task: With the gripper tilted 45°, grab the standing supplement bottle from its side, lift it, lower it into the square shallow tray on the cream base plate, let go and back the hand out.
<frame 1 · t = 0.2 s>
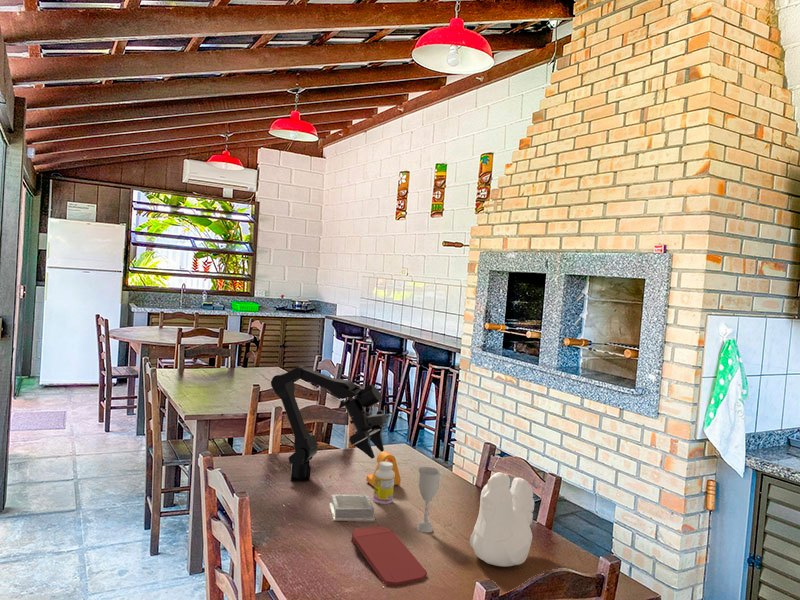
hand: (378, 454, 202), 14 cm above the table, tool tilted 35°, fingers open, 9 cm apart
supplement bottle: (382, 501, 197), on the table
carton: (384, 562, 156), on the table
chalice: (424, 529, 178), on the table
square shallow tray: (351, 512, 185), on the table
bracket: (382, 484, 213), on the table
white bunny figurine: (507, 558, 163), on the table
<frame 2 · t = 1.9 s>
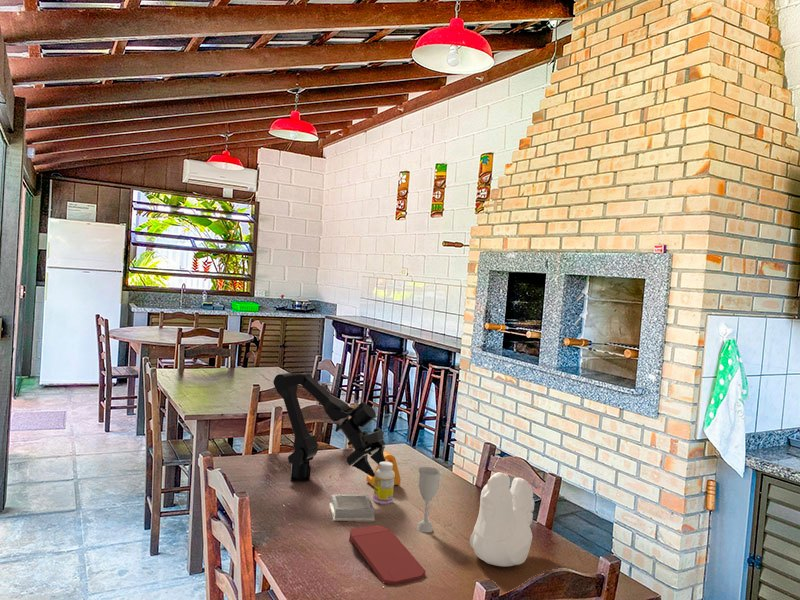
hand: (380, 472, 198), 9 cm above the table, tool tilted 45°, fingers open, 9 cm apart
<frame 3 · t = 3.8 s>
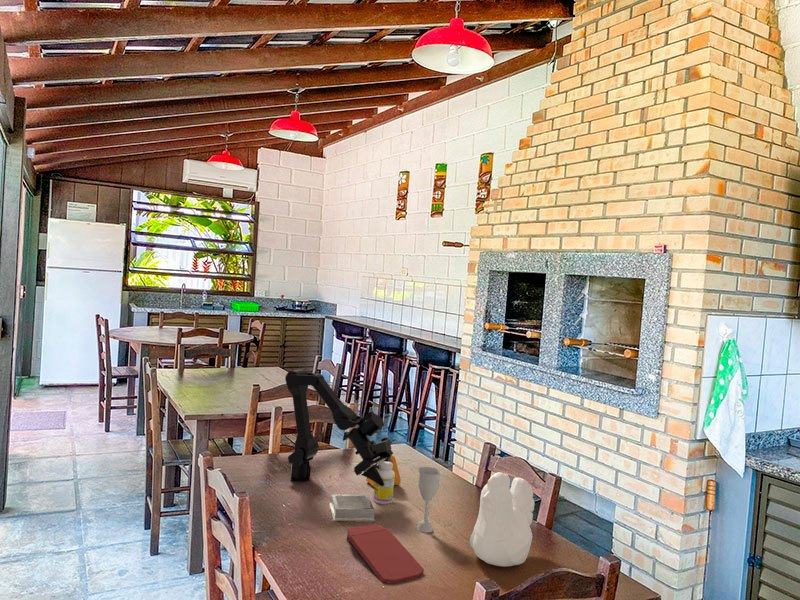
hand: (388, 482, 196), 7 cm above the table, tool tilted 45°, fingers closed on supplement bottle, 7 cm apart
supplement bottle: (382, 501, 197), on the table, touching gripper
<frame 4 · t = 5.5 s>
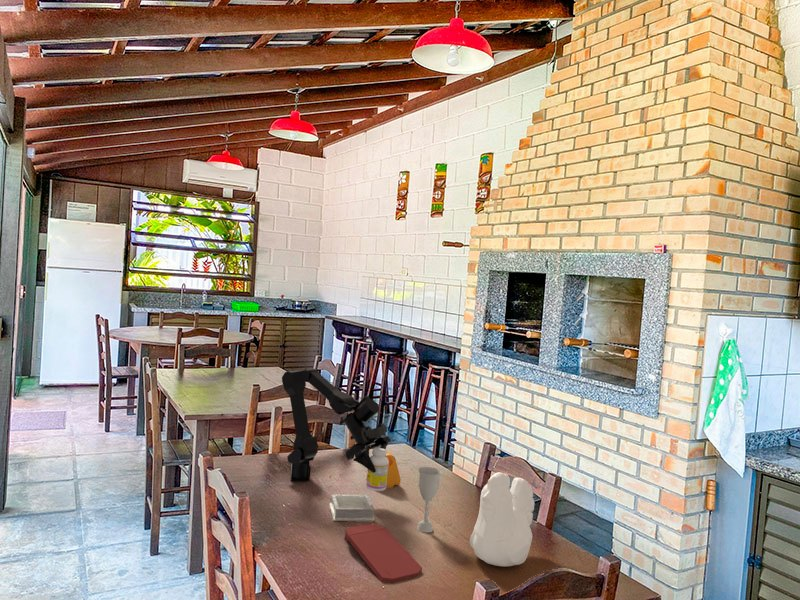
hand: (381, 469, 192), 12 cm above the table, tool tilted 45°, fingers closed on supplement bottle, 7 cm apart
supplement bottle: (375, 488, 193), point 5 cm above the table, touching gripper
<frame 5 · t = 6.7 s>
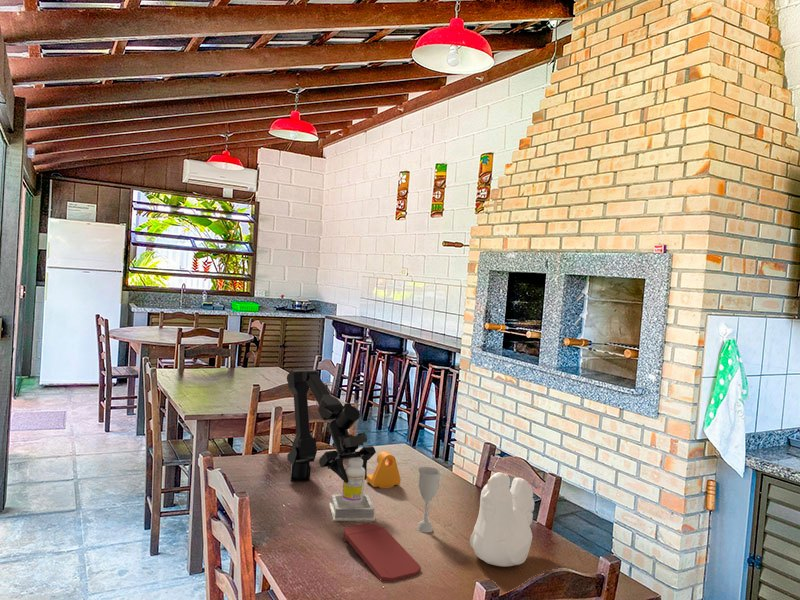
hand: (356, 480, 183), 11 cm above the table, tool tilted 45°, fingers closed on supplement bottle, 7 cm apart
supplement bottle: (352, 500, 185), point 4 cm above the table, touching gripper
when the fingers open (8 cm above the table, at t = 7.7 s): supplement bottle drops 1 cm, resting on square shallow tray.
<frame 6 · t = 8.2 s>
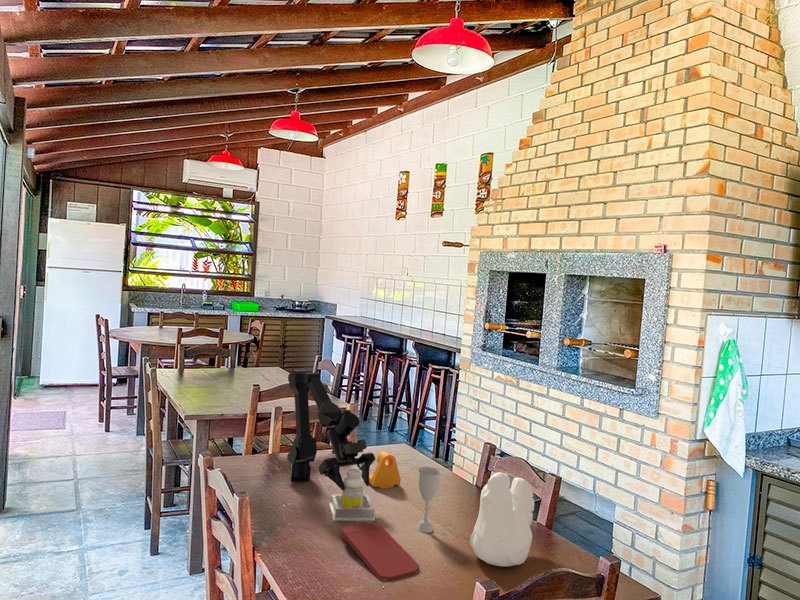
hand: (356, 487, 183), 9 cm above the table, tool tilted 45°, fingers open, 9 cm apart
supplement bottle: (351, 511, 185), resting on square shallow tray
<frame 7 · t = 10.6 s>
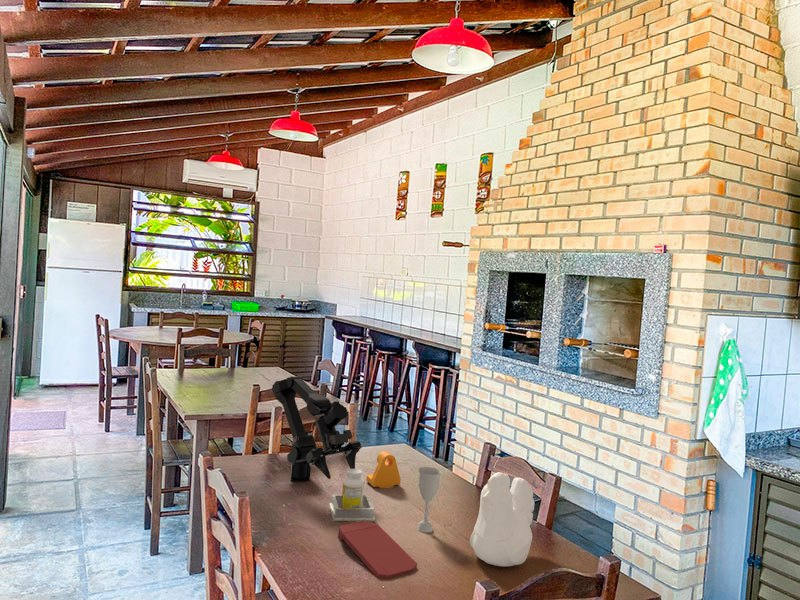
hand: (342, 475, 192), 9 cm above the table, tool tilted 40°, fingers open, 9 cm apart
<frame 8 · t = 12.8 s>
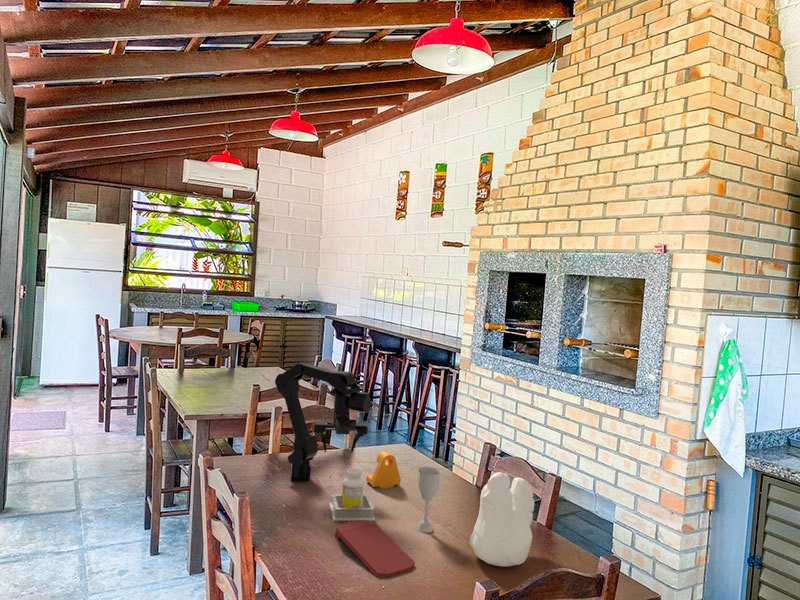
hand: (338, 452, 204), 13 cm above the table, tool pointing down, fingers open, 9 cm apart
at the end: supplement bottle 0.1 cm off-centre on the square shallow tray, point 0.4 cm above the square shallow tray's base; supplement bottle tilted 0°; the gripper is holding nothing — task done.
